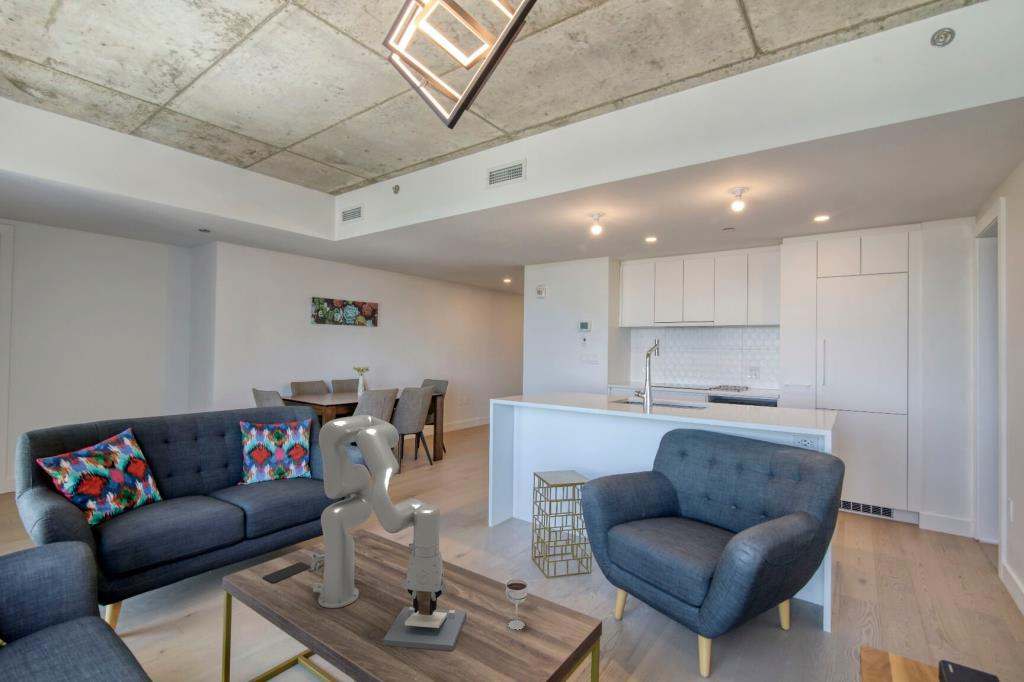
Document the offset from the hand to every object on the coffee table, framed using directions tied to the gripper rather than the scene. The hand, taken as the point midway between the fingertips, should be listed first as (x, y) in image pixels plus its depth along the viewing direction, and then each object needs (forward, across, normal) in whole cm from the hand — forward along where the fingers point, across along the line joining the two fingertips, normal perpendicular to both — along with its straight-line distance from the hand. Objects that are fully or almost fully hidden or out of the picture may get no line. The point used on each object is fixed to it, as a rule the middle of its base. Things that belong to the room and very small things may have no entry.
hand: (424, 610), depth 139 cm
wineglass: (+6, +26, +7) cm, 28 cm away
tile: (+2, 0, +1) cm, 2 cm away
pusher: (+1, 0, +2) cm, 3 cm away
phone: (+8, -60, +28) cm, 67 cm away
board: (+6, 0, +1) cm, 6 cm away
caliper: (+8, -48, +39) cm, 63 cm away
